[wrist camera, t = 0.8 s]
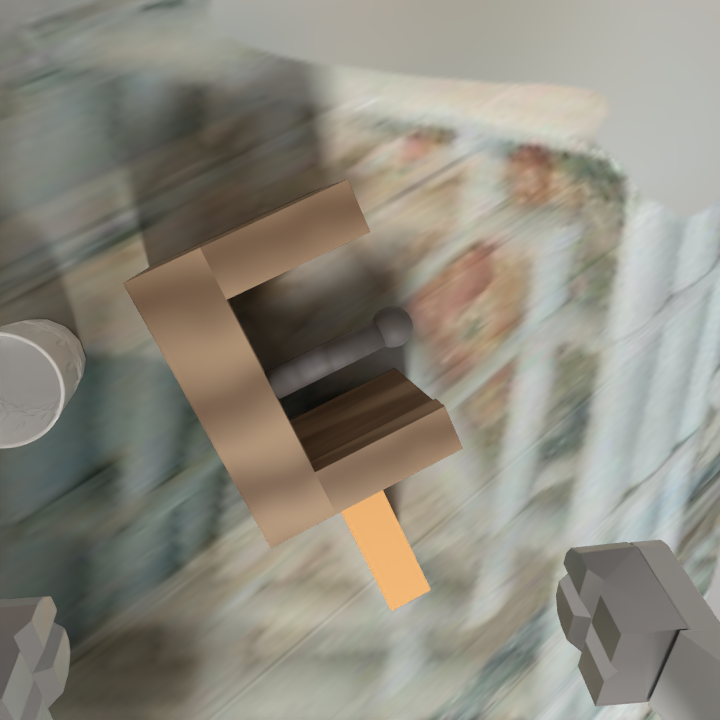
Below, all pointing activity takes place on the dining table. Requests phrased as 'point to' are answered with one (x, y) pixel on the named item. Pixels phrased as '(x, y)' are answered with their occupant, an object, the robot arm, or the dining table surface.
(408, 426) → the notched shelf
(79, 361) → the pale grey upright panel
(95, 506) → the dining table surface
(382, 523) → the wooden arch block
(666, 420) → the dining table surface
